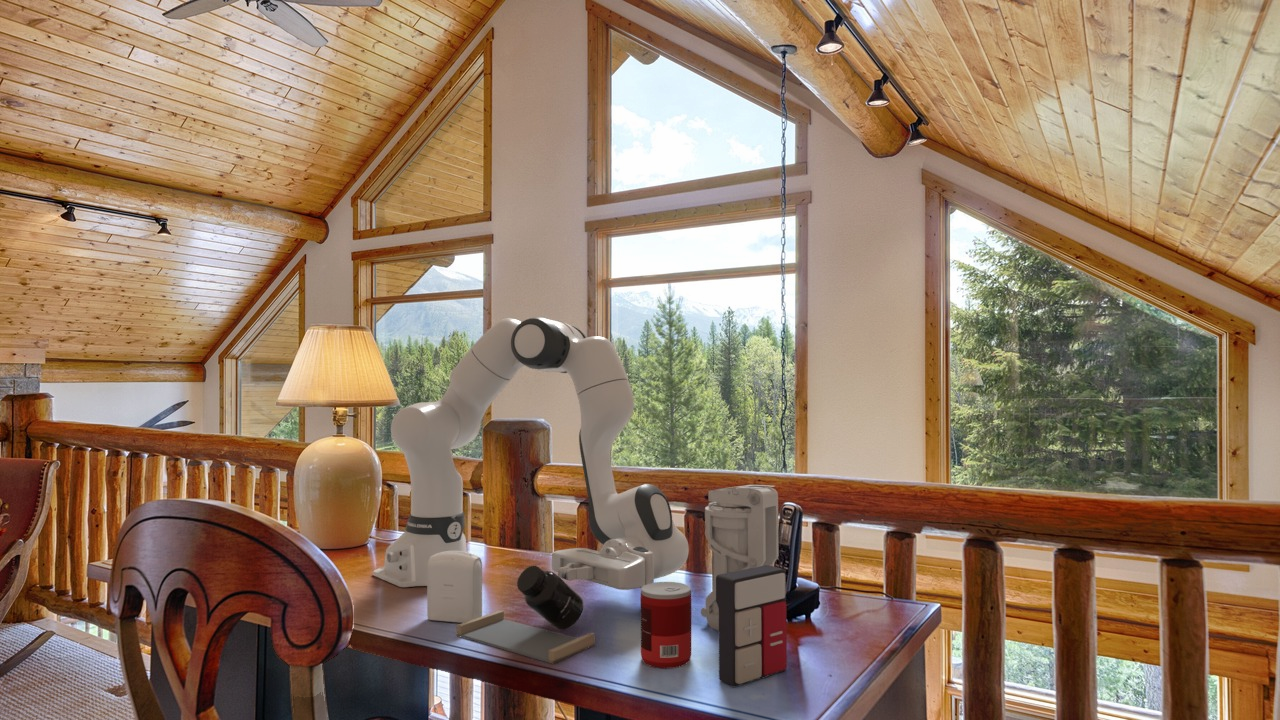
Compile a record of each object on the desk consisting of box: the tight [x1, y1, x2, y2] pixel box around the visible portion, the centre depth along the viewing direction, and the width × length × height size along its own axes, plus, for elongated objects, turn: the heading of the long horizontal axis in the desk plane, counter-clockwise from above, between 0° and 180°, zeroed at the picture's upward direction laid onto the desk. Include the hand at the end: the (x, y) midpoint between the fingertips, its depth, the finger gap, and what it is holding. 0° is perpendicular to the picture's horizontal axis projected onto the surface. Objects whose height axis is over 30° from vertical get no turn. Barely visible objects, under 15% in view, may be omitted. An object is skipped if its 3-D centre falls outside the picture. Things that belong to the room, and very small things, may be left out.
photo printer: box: [426, 551, 483, 624], centre depth 133 cm, size 10×4×12 cm, turn 74°
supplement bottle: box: [516, 565, 584, 631], centre depth 125 cm, size 7×7×12 cm
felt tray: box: [456, 609, 596, 665], centre depth 122 cm, size 22×10×2 cm, turn 55°
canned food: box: [640, 581, 692, 669], centre depth 113 cm, size 8×8×11 cm
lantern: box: [700, 484, 779, 632], centre depth 130 cm, size 13×10×25 cm
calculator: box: [716, 565, 788, 688], centre depth 107 cm, size 11×4×15 cm, turn 126°
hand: (562, 574), depth 127 cm, fingers closed
